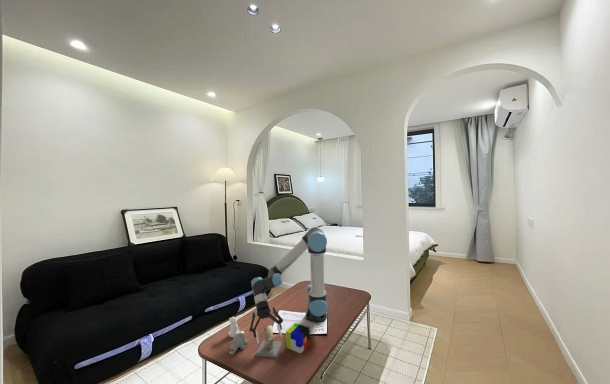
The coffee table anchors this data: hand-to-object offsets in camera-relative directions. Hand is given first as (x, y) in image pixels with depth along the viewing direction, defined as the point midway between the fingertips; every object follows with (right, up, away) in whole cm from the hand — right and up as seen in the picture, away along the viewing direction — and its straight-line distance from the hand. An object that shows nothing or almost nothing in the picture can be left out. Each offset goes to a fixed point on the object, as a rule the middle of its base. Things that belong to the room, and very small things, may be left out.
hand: (269, 339), depth 148 cm
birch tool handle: (-1, -6, +3) cm, 7 cm away
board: (-1, -7, +3) cm, 8 cm away
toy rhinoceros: (-19, -8, +3) cm, 21 cm away
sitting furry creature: (-24, -7, +18) cm, 31 cm away
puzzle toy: (+16, -7, +5) cm, 18 cm away
